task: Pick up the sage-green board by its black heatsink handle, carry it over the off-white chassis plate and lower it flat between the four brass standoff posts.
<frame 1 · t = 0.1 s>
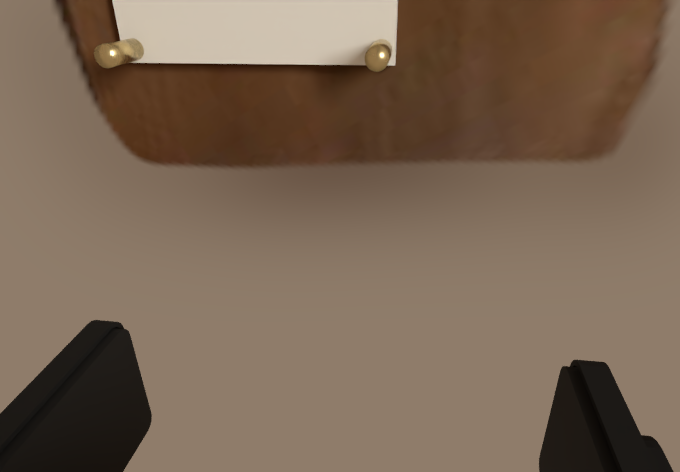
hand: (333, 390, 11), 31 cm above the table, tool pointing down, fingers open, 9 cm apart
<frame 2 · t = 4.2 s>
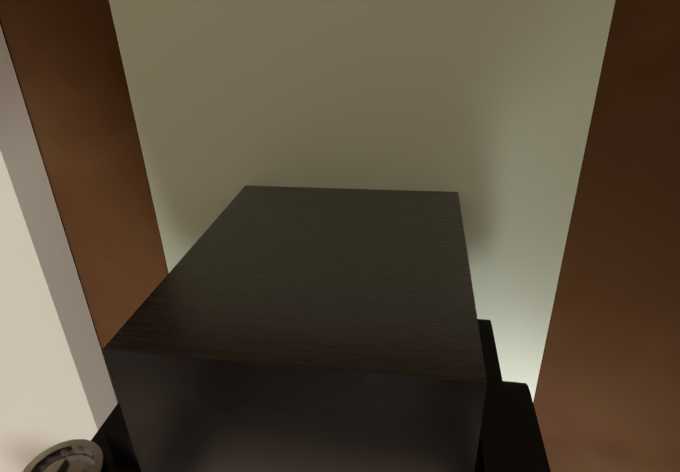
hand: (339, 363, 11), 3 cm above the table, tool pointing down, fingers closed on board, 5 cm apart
board: (356, 286, 14), on the table, touching gripper
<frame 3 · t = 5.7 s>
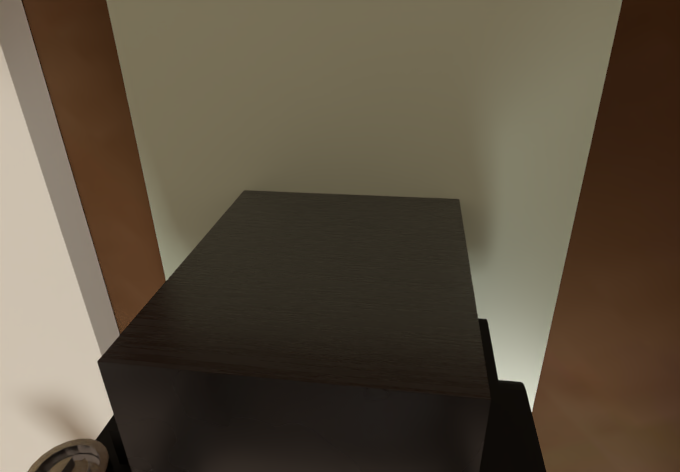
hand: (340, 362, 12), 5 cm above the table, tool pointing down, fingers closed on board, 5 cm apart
board: (355, 292, 14), point 2 cm above the table, touching gripper
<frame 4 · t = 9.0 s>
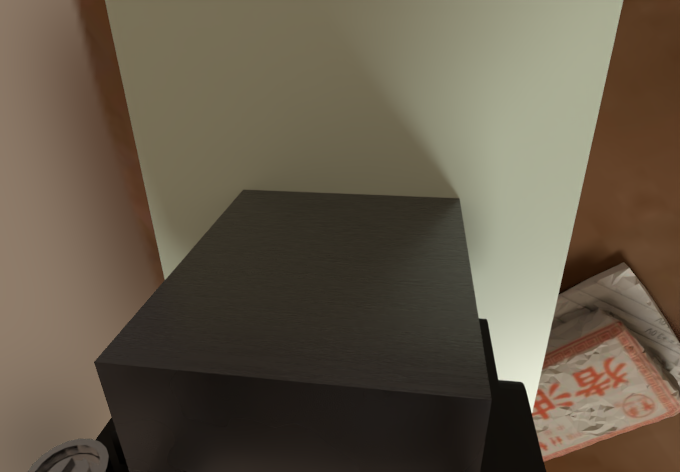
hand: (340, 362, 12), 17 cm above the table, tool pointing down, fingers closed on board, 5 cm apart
packaged product: (524, 372, 33), on the table
board: (355, 292, 14), point 15 cm above the table, touching gripper
when the fingers open (5 cm above the table, at t = 13.3 s): board stays where it is, resting on chassis.
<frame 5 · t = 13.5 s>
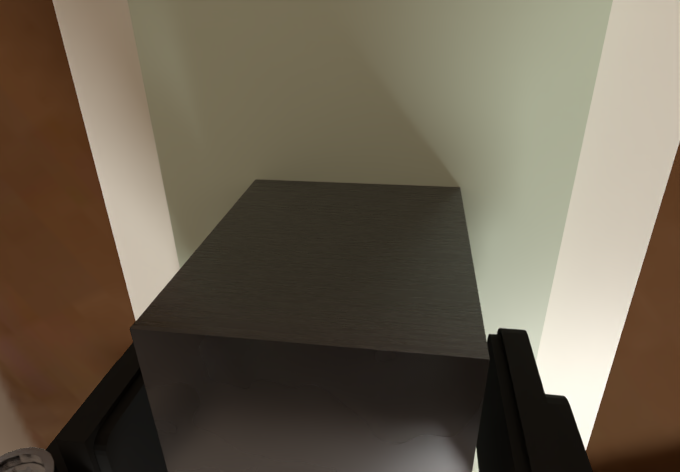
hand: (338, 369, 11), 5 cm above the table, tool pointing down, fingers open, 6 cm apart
board: (360, 279, 15), point 1 cm above the table, touching chassis
chassis: (362, 259, 16), on the table
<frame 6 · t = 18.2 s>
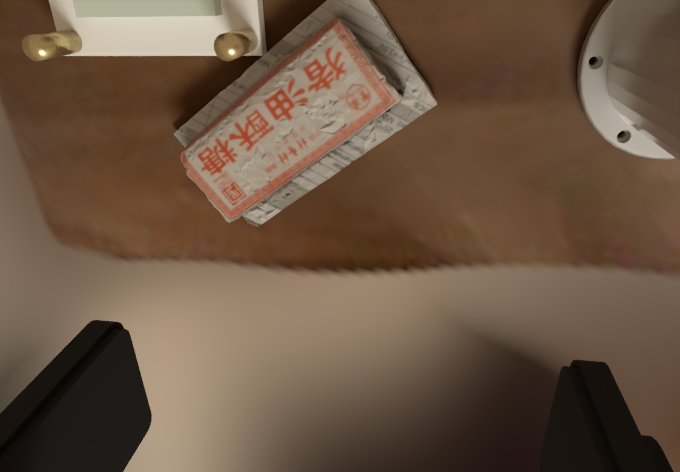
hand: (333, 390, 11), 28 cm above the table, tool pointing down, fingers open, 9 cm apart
packaged product: (302, 114, 38), on the table
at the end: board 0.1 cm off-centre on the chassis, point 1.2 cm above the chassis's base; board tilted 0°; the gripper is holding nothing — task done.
